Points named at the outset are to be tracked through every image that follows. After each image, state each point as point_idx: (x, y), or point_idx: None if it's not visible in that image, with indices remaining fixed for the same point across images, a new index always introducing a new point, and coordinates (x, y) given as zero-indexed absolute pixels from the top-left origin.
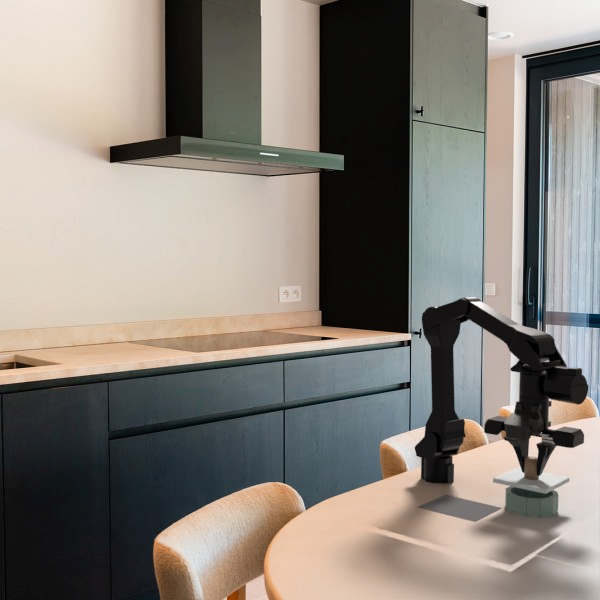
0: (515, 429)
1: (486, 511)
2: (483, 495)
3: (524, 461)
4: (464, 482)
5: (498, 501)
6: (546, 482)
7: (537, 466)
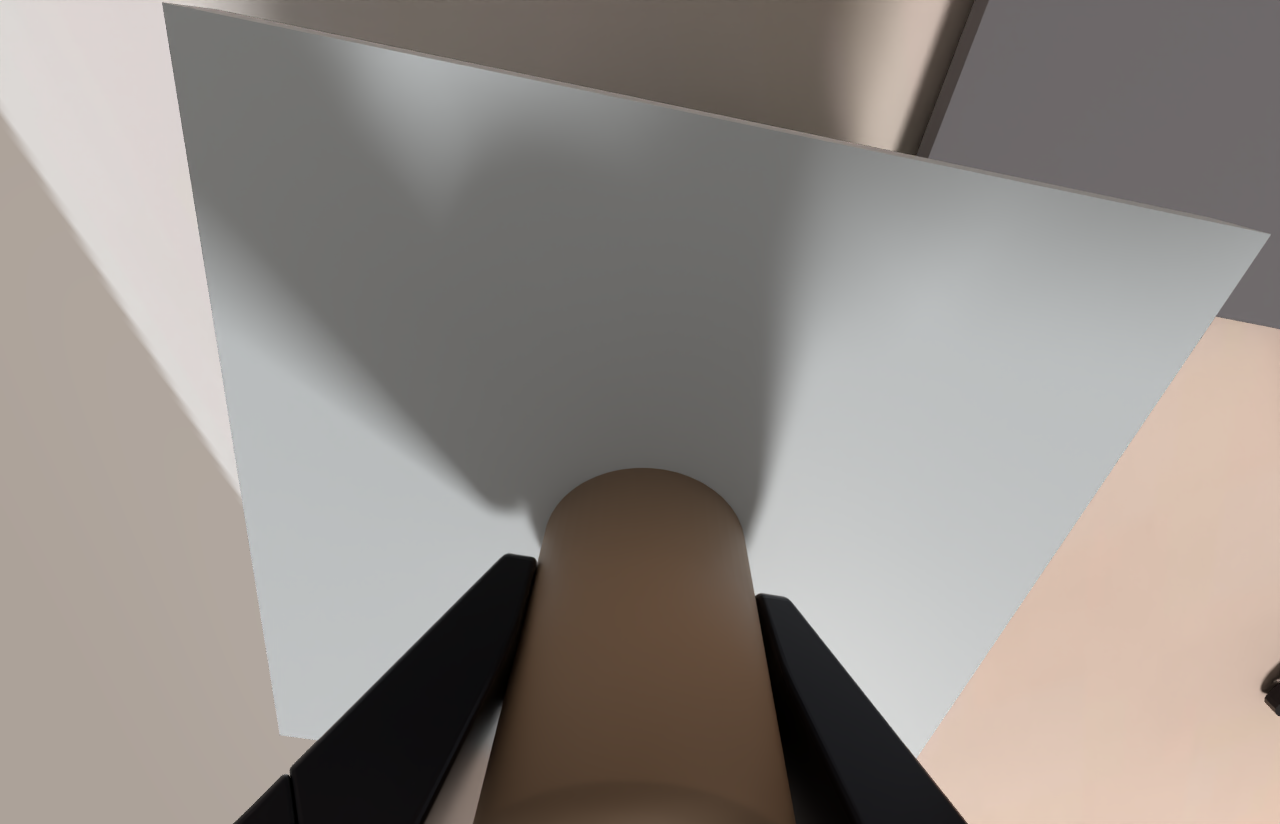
0: None
1: (1051, 34)
2: (1058, 553)
3: (792, 782)
4: (1190, 718)
5: None
6: (383, 452)
7: (485, 663)
